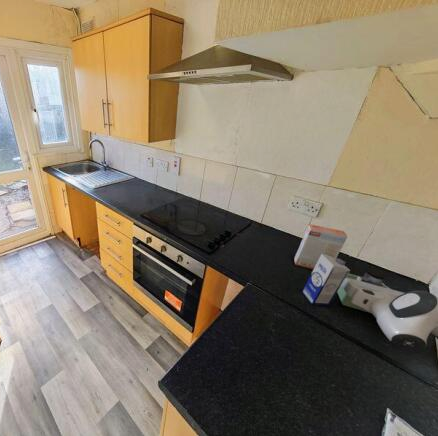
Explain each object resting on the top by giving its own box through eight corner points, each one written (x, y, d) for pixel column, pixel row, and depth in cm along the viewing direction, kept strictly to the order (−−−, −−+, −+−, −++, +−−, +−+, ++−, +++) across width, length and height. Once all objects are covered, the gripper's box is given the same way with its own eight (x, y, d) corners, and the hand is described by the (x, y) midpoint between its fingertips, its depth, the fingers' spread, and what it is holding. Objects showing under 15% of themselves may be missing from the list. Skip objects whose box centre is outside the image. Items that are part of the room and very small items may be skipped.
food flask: (366, 292, 95) (382, 270, 90) (372, 301, 91) (388, 279, 85) (351, 288, 97) (365, 266, 92) (355, 296, 93) (370, 274, 87)
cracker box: (325, 267, 112) (344, 230, 102) (328, 274, 107) (348, 237, 97) (293, 258, 117) (308, 223, 107) (294, 265, 112) (311, 228, 102)
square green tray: (375, 289, 99) (381, 282, 97) (395, 320, 85) (402, 312, 83) (331, 277, 105) (335, 270, 103) (342, 304, 90) (347, 296, 88)
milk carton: (301, 291, 96) (321, 253, 87) (317, 292, 96) (338, 254, 87) (312, 304, 90) (334, 265, 80) (329, 305, 90) (353, 266, 80)
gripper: (429, 309, 75) (406, 283, 87) (354, 289, 82) (342, 267, 94) (417, 322, 78) (397, 295, 90) (346, 301, 85) (336, 278, 97)
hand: (369, 280), depth 92 cm, fingers closed on food flask, 5 cm apart
